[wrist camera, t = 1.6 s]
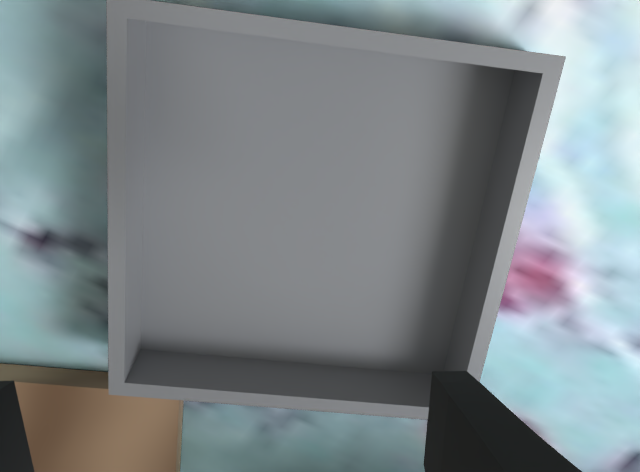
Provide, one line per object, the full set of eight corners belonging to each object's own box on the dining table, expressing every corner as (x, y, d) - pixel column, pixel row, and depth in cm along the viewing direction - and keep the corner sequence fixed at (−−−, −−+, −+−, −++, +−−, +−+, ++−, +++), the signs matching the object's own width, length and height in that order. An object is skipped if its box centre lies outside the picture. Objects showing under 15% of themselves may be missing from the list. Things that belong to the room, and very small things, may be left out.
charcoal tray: (528, 51, 17) (565, 56, 15) (448, 377, 22) (468, 422, 19) (134, -2, 16) (106, -7, 14) (130, 350, 21) (108, 394, 18)
